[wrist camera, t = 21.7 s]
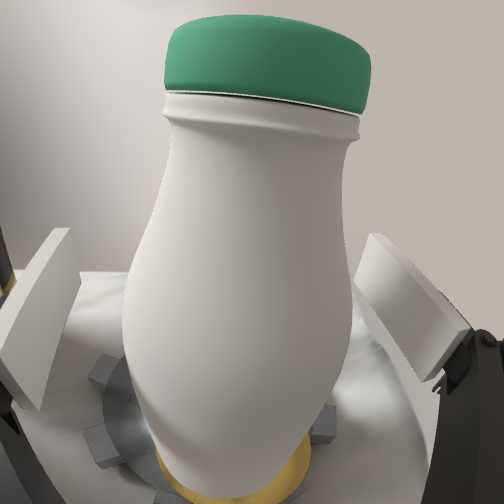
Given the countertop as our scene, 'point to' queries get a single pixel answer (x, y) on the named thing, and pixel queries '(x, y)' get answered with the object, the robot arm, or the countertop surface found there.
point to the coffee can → (5, 269)
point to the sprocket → (149, 460)
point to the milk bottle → (245, 249)
